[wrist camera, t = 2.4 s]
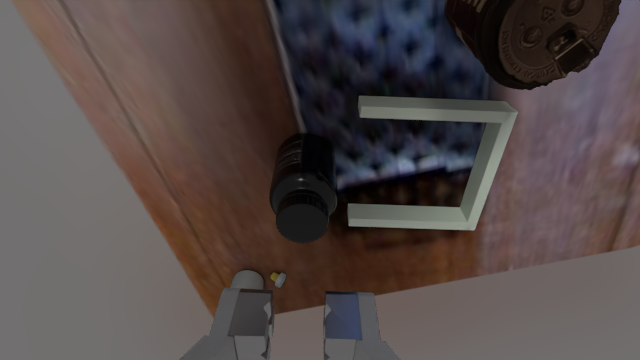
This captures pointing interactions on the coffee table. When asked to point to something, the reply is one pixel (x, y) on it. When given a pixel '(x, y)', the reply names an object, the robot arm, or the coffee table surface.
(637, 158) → the coffee table surface
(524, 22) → the coffee cup
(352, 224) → the pale u-shaped frame
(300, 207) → the supplement bottle
